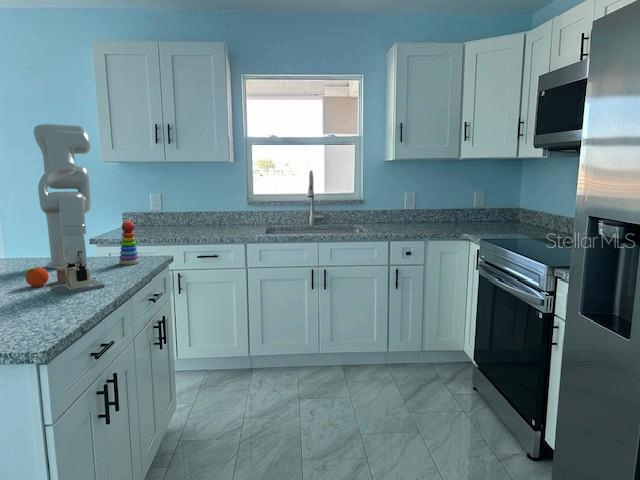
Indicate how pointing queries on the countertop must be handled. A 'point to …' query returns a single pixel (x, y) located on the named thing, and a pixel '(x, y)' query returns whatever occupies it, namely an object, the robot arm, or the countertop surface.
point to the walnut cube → (61, 275)
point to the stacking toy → (128, 245)
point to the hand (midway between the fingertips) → (77, 278)
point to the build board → (67, 290)
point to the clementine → (36, 276)
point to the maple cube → (75, 278)
